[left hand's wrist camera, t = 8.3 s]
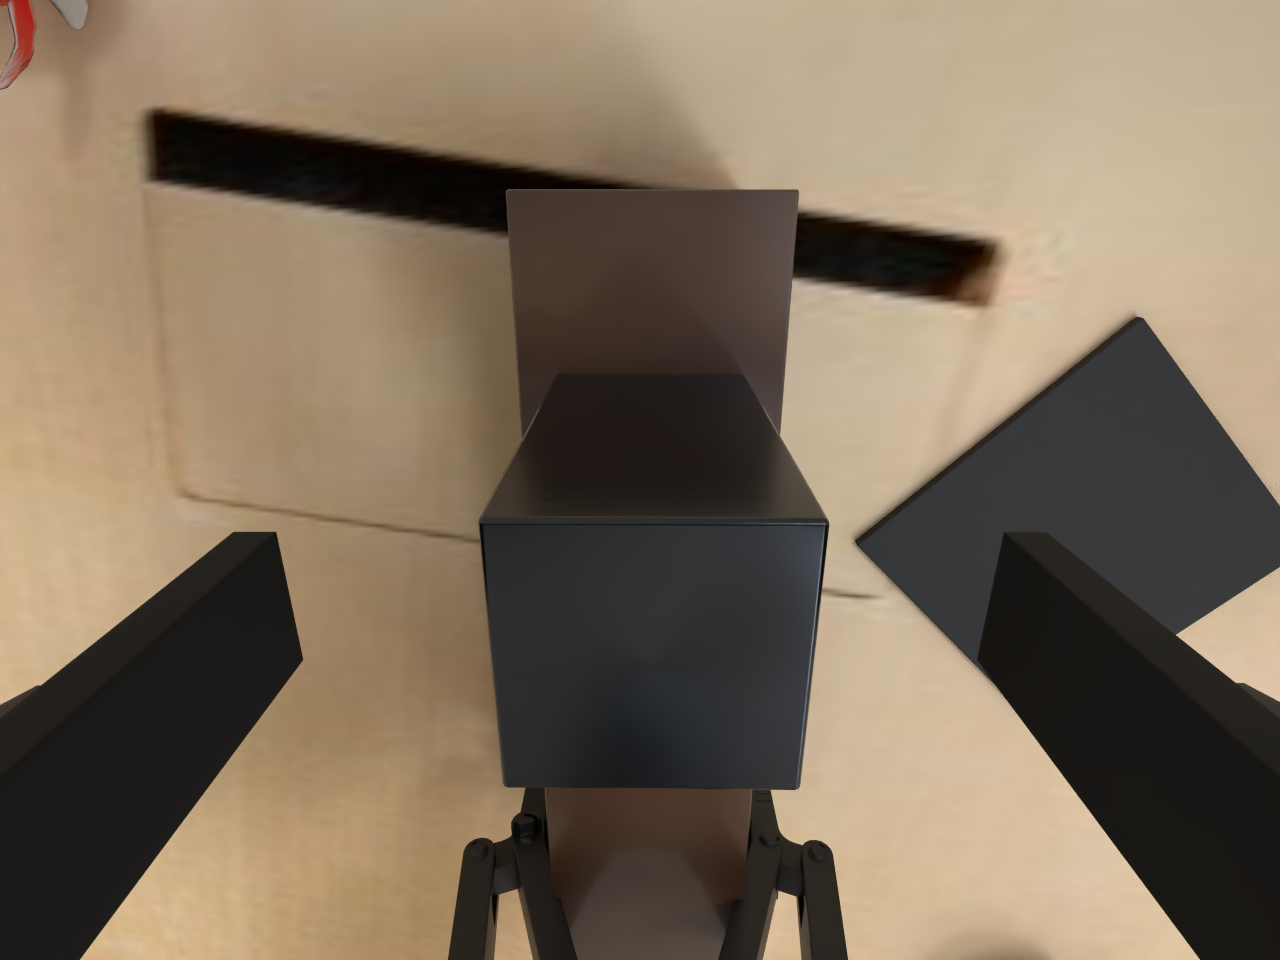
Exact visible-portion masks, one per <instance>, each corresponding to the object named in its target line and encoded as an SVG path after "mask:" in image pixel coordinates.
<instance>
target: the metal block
mask: <svg viewBox="0 0 1280 960" xmlns="http://www.w3.org/2000/svg"><path fill="white" fill-rule="evenodd" d="M478 525H479V535H480V546H481V556H482V567H483V578H484V588H485V599H486V609H487V620H488V631H489V641H490V652H491V662H492V673H493V684H494V694H495V705H496V716H497V726H498V737H499V747H500V758H501V769H502V779H503V784H504V786H506V787H527V788H641V789H754V790H796V789H798V788H799V787H800V783H801V774H802V765H803V756H804V747H805V738H806V729H807V720H808V711H809V702H810V693H811V684H812V675H813V666H814V657H815V648H816V639H817V630H818V621H819V612H820V603H821V594H822V585H823V576H824V567H825V558H826V549H827V540H828V531H829V521H828V519H827V517H826V515H825V514H824V512H823V510H822V508H821V507H820V505H819V503H818V501H817V500H816V498H815V496H814V494H813V493H812V491H811V489H810V487H809V486H808V484H807V482H806V480H805V479H804V477H803V475H802V473H801V472H800V470H799V468H798V466H797V465H796V463H795V461H794V459H793V458H792V456H791V454H790V452H789V451H788V449H787V447H786V445H785V444H784V442H783V440H782V438H781V437H780V435H779V433H778V431H777V430H776V428H775V426H774V424H773V423H772V421H771V419H770V417H769V416H768V414H767V412H766V410H765V409H764V407H763V405H762V403H761V402H760V400H759V398H758V396H757V395H756V393H755V391H754V389H753V388H752V386H751V384H750V382H749V381H748V379H747V377H746V376H744V375H557V376H556V377H555V379H554V381H553V383H552V384H551V386H550V388H549V390H548V392H547V394H546V396H545V397H544V399H543V401H542V403H541V405H540V407H539V409H538V410H537V412H536V414H535V416H534V418H533V420H532V422H531V423H530V425H529V427H528V429H527V431H526V433H525V435H524V436H523V438H522V440H521V442H520V444H519V446H518V448H517V449H516V451H515V453H514V455H513V457H512V459H511V461H510V462H509V464H508V466H507V468H506V470H505V472H504V474H503V475H502V477H501V479H500V481H499V483H498V485H497V487H496V488H495V490H494V492H493V494H492V496H491V498H490V500H489V501H488V503H487V505H486V507H485V509H484V511H483V513H482V514H481V516H480V519H479V521H478Z"/></svg>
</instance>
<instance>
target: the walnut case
mask: <svg viewBox="0 0 1280 960" xmlns="http://www.w3.org/2000/svg"><path fill="white" fill-rule="evenodd" d="M798 199H799V191H798V190H685V189H508V190H506V204H507V219H508V234H509V249H510V265H511V280H512V295H513V310H514V326H515V341H516V356H517V371H518V387H519V402H520V417H521V433H522V438H523V436H524V435H525V433H526V431H527V429H528V427H529V425H530V423H531V422H532V420H533V418H534V416H535V414H536V412H537V410H538V409H539V407H540V405H541V403H542V401H543V399H544V397H545V396H546V394H547V392H548V390H549V388H550V386H551V384H552V383H553V381H554V379H555V377H556V376H557V375H744V376H746V377H747V379H748V381H749V382H750V384H751V386H752V388H753V389H754V391H755V393H756V395H757V396H758V398H759V400H760V402H761V403H762V405H763V407H764V409H765V410H766V412H767V414H768V416H769V417H770V419H771V421H772V423H773V424H774V426H775V428H776V430H777V431H778V433H779V435H780V429H781V416H782V403H783V391H784V378H785V365H786V352H787V339H788V327H789V314H790V301H791V288H792V276H793V263H794V250H795V237H796V225H797V212H798ZM545 799H546V814H547V829H548V845H549V860H550V875H551V890H552V897H553V898H561V901H562V905H563V908H564V912H565V916H566V919H567V923H568V927H569V930H570V934H571V937H572V941H573V945H574V948H575V952H576V955H577V959H578V960H718V958H719V955H720V951H721V947H722V944H723V940H724V937H725V933H726V930H727V926H728V922H729V919H730V915H731V912H732V908H733V905H734V901H735V899H744V889H745V876H746V863H747V850H748V838H749V825H750V812H751V799H752V789H641V788H545Z"/></svg>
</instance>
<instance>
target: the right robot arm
mask: <svg viewBox="0 0 1280 960" xmlns="http://www.w3.org/2000/svg"><path fill="white" fill-rule="evenodd" d="M511 829H512V836H511V837H509V838H507V839H506V840H503V841H500V842H497V843H493V842H492V841H491V840H489V839H487V838H478V839H475V840H473V841H471V842H470V843H469V844H468V845H467V846H466V847H465V850H464V853H463V860H462V867H461V874H460V881H459V887H458V894H457V901H456V908H455V915H454V922H453V929H452V936H451V943H450V950H449V957H448V960H494V951H495V940H496V928H497V916H498V904H499V894H502V893H505V892H508V891H512V890H515V889H518V893H519V897H520V902H521V906H522V911H523V916H524V920H525V925H526V929H527V934H528V938H529V943H530V948H531V952H532V957H533V960H578V959H577V955H576V952H575V948H574V945H573V941H572V937H571V934H570V930H569V927H568V923H567V919H566V916H565V912H564V908H563V905H562V901H561V898H553V897H552V890H551V875H550V860H549V845H548V829H547V814H546V799H545V788H527V787H526V789H525V794H524V798H523V803H522V808H521V813H518V814H517V815H516V816H515V817H514V818H513V820H512V822H511ZM778 891H781V892H784V893H788V894H791V895H794V896H796V898H797V910H798V922H799V934H800V946H801V958H802V960H848V956H847V949H846V942H845V935H844V928H843V921H842V914H841V907H840V901H839V894H838V887H837V880H836V873H835V866H834V859H833V854H832V851H831V849H830V848H829V847H828V846H827V845H826V844H825V843H823V842H821V841H817V840H809V841H807V842H805V843H804V845H800V844H796V843H793V842H791V841H789V840H787V839H786V838H785V837H784V836H783V835H782V834H781V833H780V831H779V828H778V824H777V819H776V814H775V810H774V805H773V800H772V795H771V790H754V789H752V799H751V812H750V825H749V838H748V850H747V863H746V876H745V889H744V899H735V901H734V905H733V908H732V912H731V915H730V919H729V922H728V926H727V930H726V933H725V937H724V940H723V944H722V947H721V951H720V955H719V958H718V960H763V956H764V951H765V947H766V942H767V938H768V933H769V929H770V924H771V920H772V915H773V911H774V906H775V902H776V899H778Z"/></svg>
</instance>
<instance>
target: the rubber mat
mask: <svg viewBox="0 0 1280 960" xmlns="http://www.w3.org/2000/svg"><path fill="white" fill-rule="evenodd" d="M1004 532H1047V533H1048V534H1050V535H1051V536H1052V537H1053V538H1055V539H1056V540H1057V541H1058V542H1060V543H1061V544H1062V545H1063V546H1065V547H1066V548H1067V549H1068V550H1070V551H1071V552H1072V553H1073V554H1075V555H1076V556H1077V557H1078V558H1080V559H1081V560H1082V561H1083V562H1085V563H1086V564H1087V565H1088V566H1090V567H1091V568H1092V569H1093V570H1095V571H1096V572H1097V573H1098V574H1100V575H1101V576H1102V577H1103V578H1105V579H1106V580H1107V581H1108V582H1110V583H1111V584H1112V585H1113V586H1115V587H1116V588H1117V589H1118V590H1120V591H1121V592H1122V593H1124V594H1125V595H1126V596H1127V597H1129V598H1130V599H1131V600H1132V601H1134V602H1135V603H1136V604H1137V605H1139V606H1140V607H1141V608H1142V609H1144V610H1145V611H1146V612H1147V613H1149V614H1150V615H1151V616H1152V617H1154V618H1155V619H1156V620H1157V621H1159V622H1160V623H1161V624H1162V625H1164V626H1165V627H1166V628H1167V629H1169V630H1170V631H1171V632H1172V633H1174V634H1175V635H1176V634H1178V633H1179V632H1181V631H1182V630H1184V629H1185V628H1187V627H1188V626H1190V625H1191V624H1193V623H1194V622H1196V621H1197V620H1199V619H1201V618H1202V617H1204V616H1205V615H1207V614H1208V613H1210V612H1211V611H1213V610H1214V609H1216V608H1217V607H1219V606H1220V605H1222V604H1224V603H1225V602H1227V601H1228V600H1230V599H1231V598H1233V597H1234V596H1236V595H1237V594H1239V593H1240V592H1242V591H1244V590H1245V589H1247V588H1248V587H1250V586H1251V585H1253V584H1254V583H1256V582H1257V581H1259V580H1260V579H1262V578H1263V577H1265V576H1267V575H1268V574H1270V573H1271V572H1273V571H1274V570H1276V569H1277V568H1279V567H1280V506H1279V504H1278V503H1277V502H1276V500H1275V499H1274V497H1273V496H1272V495H1271V493H1270V492H1269V491H1268V489H1267V488H1266V486H1265V485H1264V484H1263V482H1262V481H1261V480H1260V478H1259V477H1258V475H1257V474H1256V473H1255V471H1254V470H1253V469H1252V467H1251V466H1250V464H1249V463H1248V462H1247V460H1246V459H1245V458H1244V456H1243V455H1242V453H1241V452H1240V451H1239V449H1238V448H1237V447H1236V445H1235V444H1234V442H1233V441H1232V440H1231V438H1230V437H1229V435H1228V434H1227V433H1226V431H1225V430H1224V429H1223V427H1222V426H1221V424H1220V423H1219V422H1218V420H1217V419H1216V418H1215V416H1214V415H1213V413H1212V412H1211V411H1210V409H1209V408H1208V407H1207V405H1206V404H1205V402H1204V401H1203V400H1202V398H1201V397H1200V396H1199V394H1198V393H1197V391H1196V390H1195V389H1194V387H1193V386H1192V385H1191V383H1190V382H1189V380H1188V379H1187V378H1186V376H1185V375H1184V374H1183V372H1182V371H1181V369H1180V368H1179V367H1178V365H1177V364H1176V363H1175V361H1174V360H1173V358H1172V357H1171V356H1170V354H1169V353H1168V352H1167V350H1166V349H1165V347H1164V346H1163V345H1162V343H1161V342H1160V341H1159V339H1158V338H1157V336H1156V335H1155V334H1154V332H1153V331H1152V330H1151V328H1150V327H1149V325H1148V324H1147V323H1146V321H1145V320H1144V319H1143V318H1140V317H1136V318H1135V319H1134V320H1132V321H1131V322H1130V323H1129V324H1127V325H1126V326H1125V327H1124V328H1122V329H1121V330H1120V331H1119V332H1117V333H1116V334H1115V335H1114V336H1112V337H1111V338H1110V339H1109V340H1107V341H1106V342H1105V343H1103V344H1102V345H1101V346H1100V347H1098V348H1097V349H1096V350H1095V351H1093V352H1092V353H1091V354H1090V355H1088V356H1087V357H1086V358H1085V359H1083V360H1082V361H1081V362H1080V363H1078V364H1077V365H1076V366H1075V367H1073V368H1072V369H1071V370H1070V371H1068V372H1067V373H1066V374H1065V375H1063V376H1062V377H1061V378H1060V379H1058V380H1057V381H1056V382H1055V383H1053V384H1052V385H1051V386H1050V387H1048V388H1047V389H1046V390H1045V391H1043V392H1042V393H1041V394H1040V395H1038V396H1037V397H1036V398H1035V399H1033V400H1032V401H1031V402H1030V403H1028V404H1027V405H1026V406H1025V407H1023V408H1022V409H1021V410H1020V411H1018V412H1017V413H1016V414H1015V415H1013V416H1012V417H1011V418H1010V419H1008V420H1007V421H1006V422H1005V423H1003V424H1002V425H1001V426H1000V427H998V428H997V429H996V430H995V431H993V432H992V433H991V434H990V435H988V436H987V437H986V438H985V439H983V440H982V441H981V442H979V443H978V444H977V445H976V446H974V447H973V448H972V449H971V450H969V451H968V452H967V453H966V454H964V455H963V456H962V457H961V458H959V459H958V460H957V461H956V462H954V463H953V464H952V465H951V466H949V467H948V468H947V469H946V470H944V471H943V472H942V473H941V474H939V475H938V476H937V477H936V478H934V479H933V480H932V481H931V482H929V483H928V484H927V485H926V486H924V487H923V488H922V489H921V490H919V491H918V492H917V493H916V494H914V495H913V496H912V497H911V498H909V499H908V500H907V501H906V502H904V503H903V504H902V505H901V506H899V507H898V508H897V509H896V510H894V511H893V512H892V513H891V514H889V515H888V516H887V517H886V518H884V519H883V520H882V521H881V522H879V523H878V524H877V525H876V526H874V527H873V528H872V529H871V530H869V531H868V532H867V533H866V534H864V535H863V536H862V537H861V538H859V539H858V540H857V541H856V544H857V545H858V546H859V547H860V548H861V549H862V550H863V551H864V553H865V554H866V555H867V556H868V557H869V558H870V559H871V560H872V561H873V562H874V563H875V564H876V565H877V566H878V567H879V568H880V569H881V570H882V571H883V572H884V573H885V574H886V575H887V576H888V577H889V578H890V579H891V580H892V581H893V582H894V583H895V584H896V585H897V586H898V587H899V588H900V589H901V590H902V591H903V592H904V593H905V594H906V595H907V596H908V597H909V598H910V599H911V600H912V601H913V602H914V603H915V604H916V605H917V606H918V607H919V608H920V609H921V610H922V611H923V612H924V613H925V614H926V615H927V616H928V617H929V618H930V619H931V620H932V621H933V622H934V623H935V624H936V625H937V626H938V627H939V629H940V630H941V631H942V632H943V633H944V634H945V635H946V636H947V637H948V638H949V639H950V640H951V641H952V642H953V643H954V644H955V645H956V646H957V647H958V648H959V649H960V650H961V651H962V652H963V653H964V654H965V655H966V656H967V657H968V658H969V659H970V660H971V661H972V662H973V663H974V664H975V665H976V666H977V667H978V668H979V669H980V670H981V671H982V672H983V673H984V674H985V675H986V676H987V677H988V678H989V679H990V680H991V678H990V677H989V676H988V674H987V673H986V671H985V670H984V669H983V667H982V666H981V665H980V663H979V662H978V661H977V656H978V652H979V647H980V642H981V638H982V633H983V628H984V623H985V619H986V614H987V609H988V605H989V600H990V595H991V590H992V586H993V581H994V576H995V571H996V567H997V562H998V557H999V553H1000V548H1001V543H1002V538H1003V534H1004ZM991 681H992V680H991ZM992 682H993V681H992ZM993 683H994V682H993Z"/></svg>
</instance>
